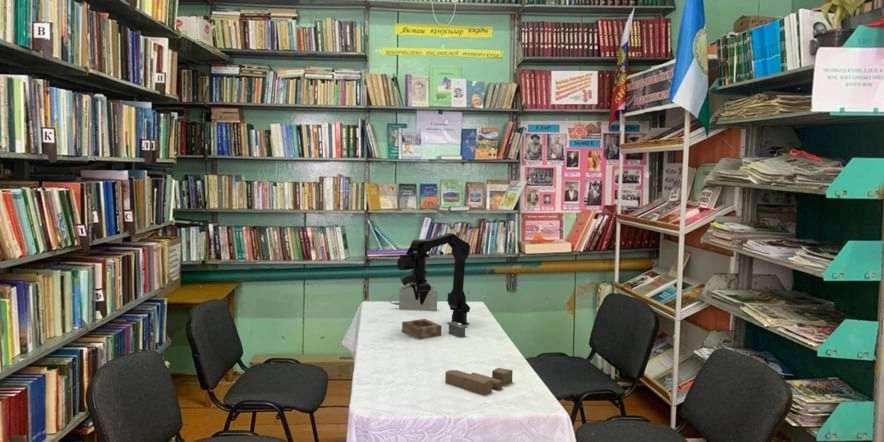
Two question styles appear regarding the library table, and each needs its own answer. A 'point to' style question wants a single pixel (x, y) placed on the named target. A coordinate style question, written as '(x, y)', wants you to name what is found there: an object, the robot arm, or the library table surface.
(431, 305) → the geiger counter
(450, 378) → the wooden block set
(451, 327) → the block
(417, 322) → the pocket plate
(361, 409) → the library table surface
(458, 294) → the robot arm
